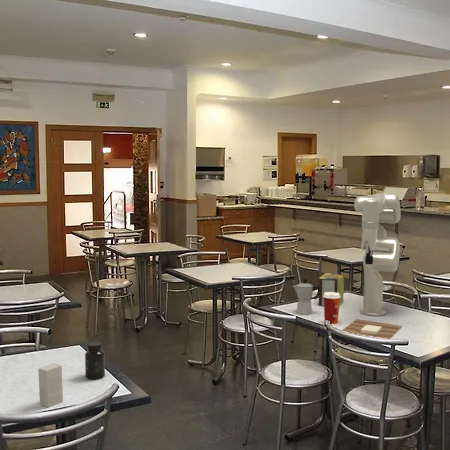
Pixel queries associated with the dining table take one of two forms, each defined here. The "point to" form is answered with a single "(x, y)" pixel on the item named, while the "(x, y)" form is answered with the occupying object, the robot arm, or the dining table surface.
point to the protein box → (331, 286)
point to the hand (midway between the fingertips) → (368, 263)
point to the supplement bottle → (94, 361)
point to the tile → (371, 329)
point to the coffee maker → (305, 296)
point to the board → (386, 331)
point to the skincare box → (50, 385)
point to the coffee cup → (331, 306)
